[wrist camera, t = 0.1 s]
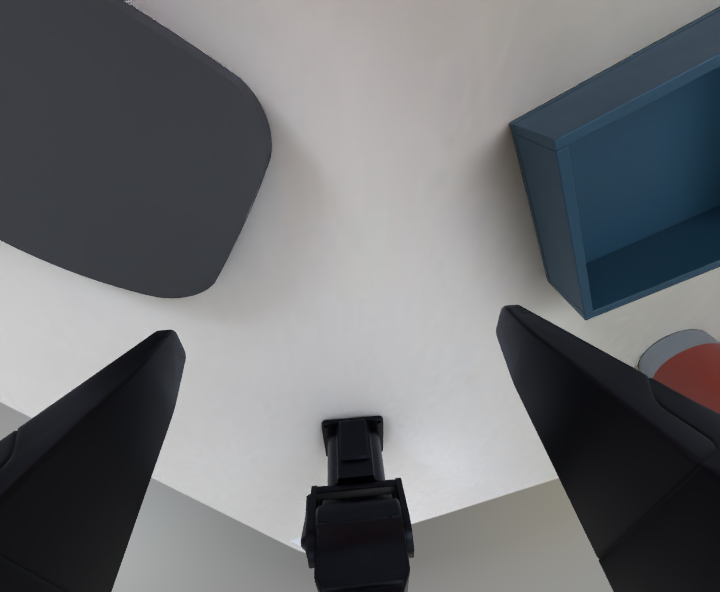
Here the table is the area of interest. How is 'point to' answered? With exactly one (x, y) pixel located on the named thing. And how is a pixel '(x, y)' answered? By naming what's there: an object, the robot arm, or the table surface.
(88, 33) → the media streaming box
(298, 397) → the table surface
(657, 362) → the tin can
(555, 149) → the tote
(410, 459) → the table surface
